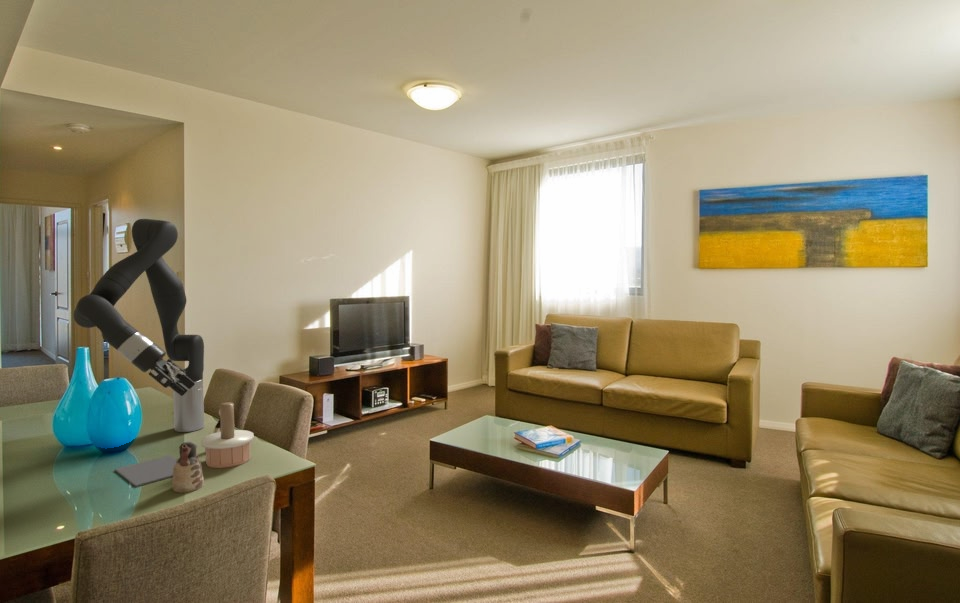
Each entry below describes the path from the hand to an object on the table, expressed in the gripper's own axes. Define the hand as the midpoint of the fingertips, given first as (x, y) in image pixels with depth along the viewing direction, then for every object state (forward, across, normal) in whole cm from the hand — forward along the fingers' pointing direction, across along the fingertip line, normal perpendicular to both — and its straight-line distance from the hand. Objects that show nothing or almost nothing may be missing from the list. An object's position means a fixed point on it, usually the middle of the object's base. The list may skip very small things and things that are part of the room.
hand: (189, 389), depth 150 cm
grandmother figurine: (+20, +13, +11) cm, 27 cm away
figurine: (+18, -17, +13) cm, 28 cm away
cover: (+18, 0, +4) cm, 19 cm away
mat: (+9, -3, +22) cm, 24 cm away
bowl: (+22, 0, +8) cm, 24 cm away
